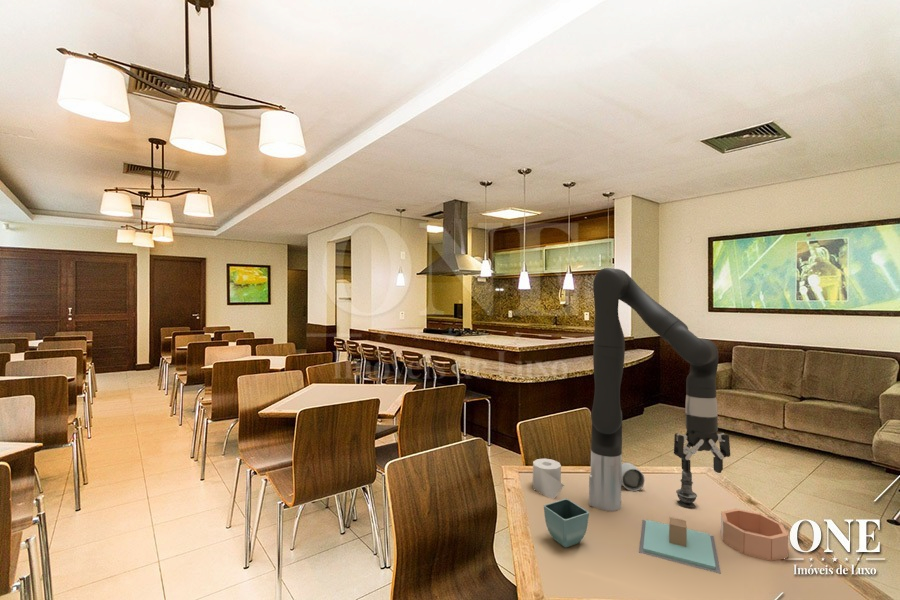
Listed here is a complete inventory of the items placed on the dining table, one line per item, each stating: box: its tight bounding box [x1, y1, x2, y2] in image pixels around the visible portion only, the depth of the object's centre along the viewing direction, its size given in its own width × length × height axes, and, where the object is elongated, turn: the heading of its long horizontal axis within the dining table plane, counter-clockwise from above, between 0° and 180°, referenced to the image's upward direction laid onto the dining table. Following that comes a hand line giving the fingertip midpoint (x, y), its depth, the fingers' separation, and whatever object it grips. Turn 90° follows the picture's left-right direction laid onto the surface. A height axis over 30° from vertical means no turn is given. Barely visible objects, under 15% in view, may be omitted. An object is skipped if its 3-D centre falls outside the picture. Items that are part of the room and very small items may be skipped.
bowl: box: [720, 508, 789, 562], centre depth 114 cm, size 14×14×6 cm
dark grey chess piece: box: [675, 470, 698, 509], centre depth 136 cm, size 6×6×12 cm
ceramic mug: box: [621, 462, 645, 492], centre depth 149 cm, size 11×8×8 cm
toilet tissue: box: [532, 458, 565, 500], centre depth 145 cm, size 9×13×9 cm
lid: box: [643, 516, 716, 570], centre depth 114 cm, size 16×16×6 cm
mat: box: [638, 519, 722, 575], centre depth 114 cm, size 18×18×1 cm
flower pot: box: [543, 498, 590, 549], centre depth 115 cm, size 9×9×9 cm
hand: (702, 472), depth 115 cm, fingers open, 8 cm apart
